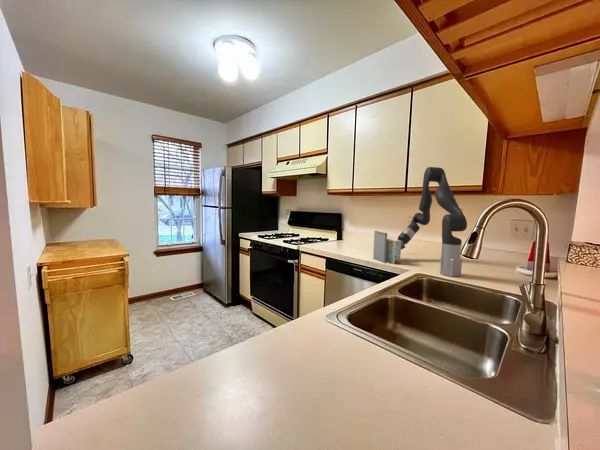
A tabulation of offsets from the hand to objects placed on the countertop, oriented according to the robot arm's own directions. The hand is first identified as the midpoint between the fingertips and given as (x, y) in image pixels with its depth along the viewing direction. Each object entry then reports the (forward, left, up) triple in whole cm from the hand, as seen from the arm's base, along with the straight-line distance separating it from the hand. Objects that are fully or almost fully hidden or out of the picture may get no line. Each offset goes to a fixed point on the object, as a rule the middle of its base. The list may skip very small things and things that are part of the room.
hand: (390, 253), depth 178 cm
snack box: (-1, +3, -5) cm, 6 cm away
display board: (0, +8, -4) cm, 9 cm away
